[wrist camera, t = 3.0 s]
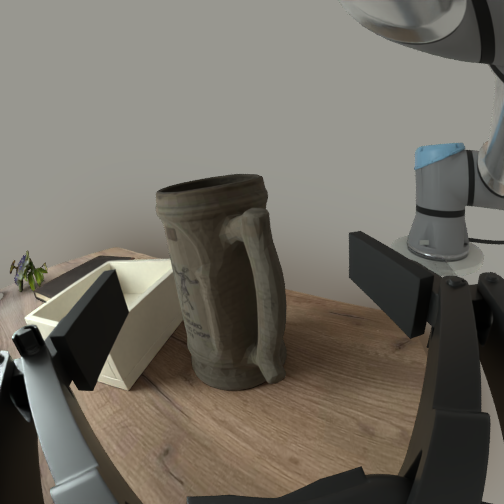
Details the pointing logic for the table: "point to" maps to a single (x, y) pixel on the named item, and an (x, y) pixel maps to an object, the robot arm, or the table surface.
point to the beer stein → (227, 278)
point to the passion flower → (23, 269)
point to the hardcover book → (72, 277)
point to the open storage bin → (137, 322)
